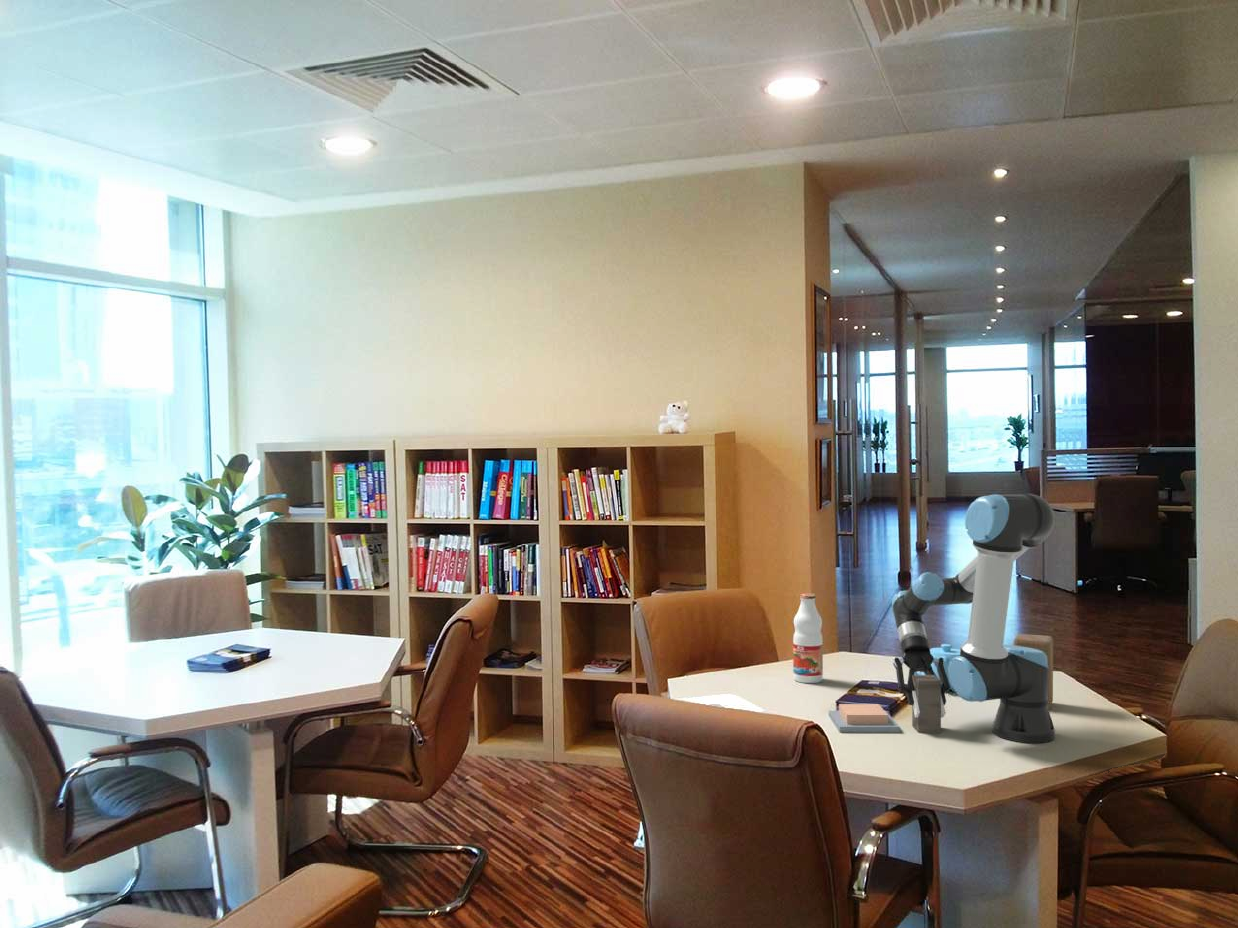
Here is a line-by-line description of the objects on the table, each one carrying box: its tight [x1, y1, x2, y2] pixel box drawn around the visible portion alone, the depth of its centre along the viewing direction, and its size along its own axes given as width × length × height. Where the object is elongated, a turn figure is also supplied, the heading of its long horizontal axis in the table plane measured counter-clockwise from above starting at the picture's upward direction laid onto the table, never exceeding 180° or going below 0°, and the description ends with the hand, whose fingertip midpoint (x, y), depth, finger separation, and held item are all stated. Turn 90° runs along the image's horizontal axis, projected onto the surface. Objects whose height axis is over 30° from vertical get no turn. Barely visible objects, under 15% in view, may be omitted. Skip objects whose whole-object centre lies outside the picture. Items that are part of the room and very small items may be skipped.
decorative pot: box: [914, 643, 961, 693], centre depth 313 cm, size 16×16×14 cm
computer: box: [676, 693, 765, 714], centre depth 285 cm, size 22×22×3 cm
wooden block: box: [1013, 633, 1054, 710], centre depth 292 cm, size 10×10×20 cm
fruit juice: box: [792, 593, 824, 684], centre depth 324 cm, size 9×9×28 cm
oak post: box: [911, 675, 942, 734], centre depth 268 cm, size 6×6×14 cm
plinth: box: [828, 703, 901, 733], centre depth 274 cm, size 16×16×4 cm
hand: (930, 714), depth 265 cm, fingers closed on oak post, 6 cm apart
